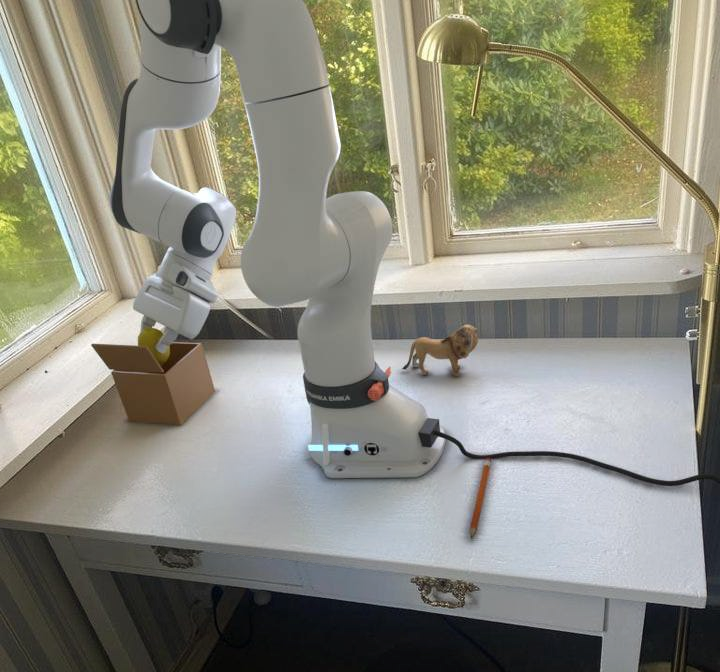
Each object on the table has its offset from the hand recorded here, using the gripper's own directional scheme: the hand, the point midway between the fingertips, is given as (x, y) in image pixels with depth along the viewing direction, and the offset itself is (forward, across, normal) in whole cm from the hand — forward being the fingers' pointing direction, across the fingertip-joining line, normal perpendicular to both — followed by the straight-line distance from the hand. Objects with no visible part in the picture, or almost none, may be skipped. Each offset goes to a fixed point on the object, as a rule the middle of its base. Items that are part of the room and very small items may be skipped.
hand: (150, 346), depth 134 cm
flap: (+3, +4, -5) cm, 7 cm away
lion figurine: (-21, +32, +39) cm, 55 cm away
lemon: (+3, 0, +4) cm, 5 cm away
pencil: (-3, +65, +22) cm, 69 cm away
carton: (+9, 0, +10) cm, 13 cm away
